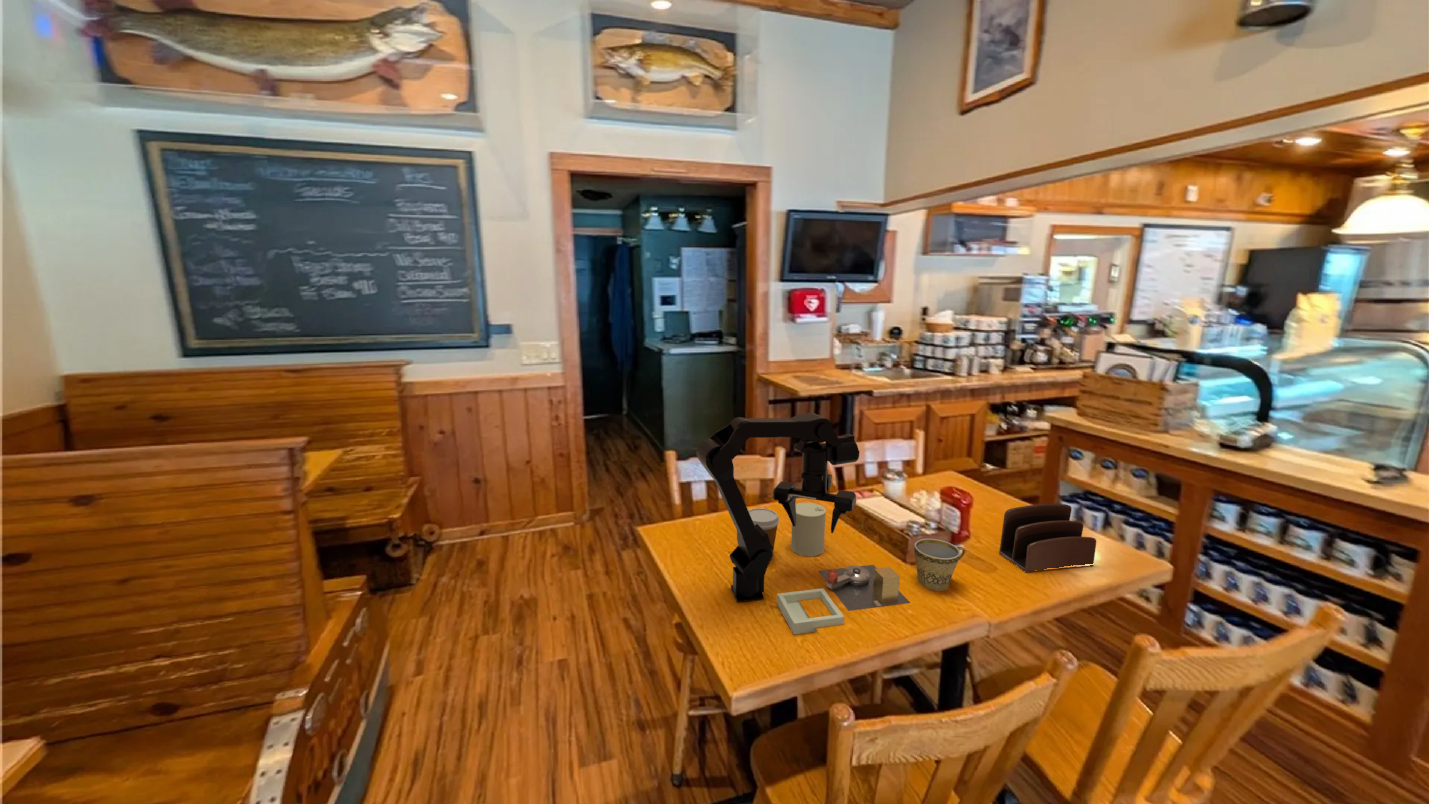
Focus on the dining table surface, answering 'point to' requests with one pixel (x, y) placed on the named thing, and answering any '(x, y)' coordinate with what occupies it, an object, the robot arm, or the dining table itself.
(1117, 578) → the dining table surface
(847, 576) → the crank
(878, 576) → the block
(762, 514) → the disposable coffee cup
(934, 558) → the ceramic cup
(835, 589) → the machine bed
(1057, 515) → the letter holder
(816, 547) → the can
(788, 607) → the tray
